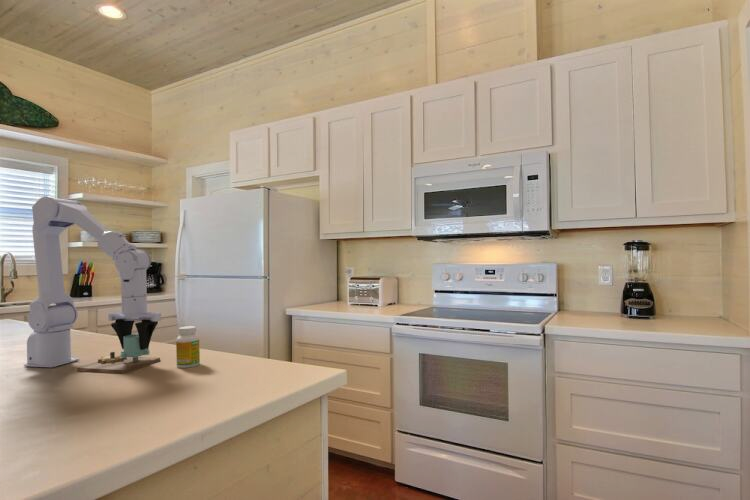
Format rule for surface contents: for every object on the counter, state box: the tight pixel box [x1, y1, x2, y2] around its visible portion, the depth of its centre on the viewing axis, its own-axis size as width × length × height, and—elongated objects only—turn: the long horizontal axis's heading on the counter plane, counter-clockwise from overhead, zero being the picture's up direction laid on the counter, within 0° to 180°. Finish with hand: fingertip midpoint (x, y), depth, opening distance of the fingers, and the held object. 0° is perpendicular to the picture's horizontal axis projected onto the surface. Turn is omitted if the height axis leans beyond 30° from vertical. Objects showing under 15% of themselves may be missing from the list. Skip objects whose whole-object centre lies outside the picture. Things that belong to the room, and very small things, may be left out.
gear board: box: [76, 351, 161, 374], centre depth 109 cm, size 14×12×4 cm
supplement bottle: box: [175, 325, 201, 369], centre depth 108 cm, size 5×5×10 cm
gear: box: [120, 333, 150, 358], centre depth 109 cm, size 7×7×5 cm
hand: (135, 348), depth 110 cm, fingers closed on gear, 5 cm apart
